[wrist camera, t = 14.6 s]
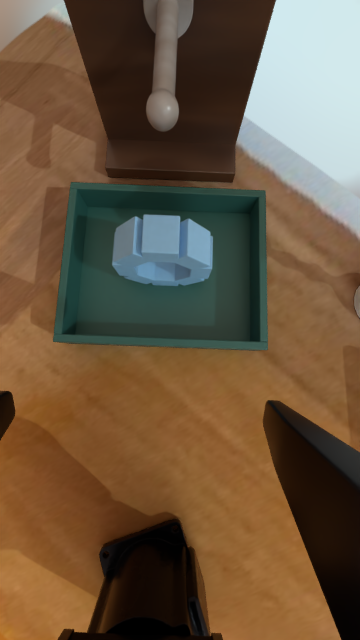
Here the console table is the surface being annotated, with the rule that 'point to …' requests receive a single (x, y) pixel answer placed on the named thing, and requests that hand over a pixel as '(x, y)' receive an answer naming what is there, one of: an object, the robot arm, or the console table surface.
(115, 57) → the hook rack
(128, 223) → the blue segmented ring
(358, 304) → the chalice
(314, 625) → the console table surface
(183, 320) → the tray
